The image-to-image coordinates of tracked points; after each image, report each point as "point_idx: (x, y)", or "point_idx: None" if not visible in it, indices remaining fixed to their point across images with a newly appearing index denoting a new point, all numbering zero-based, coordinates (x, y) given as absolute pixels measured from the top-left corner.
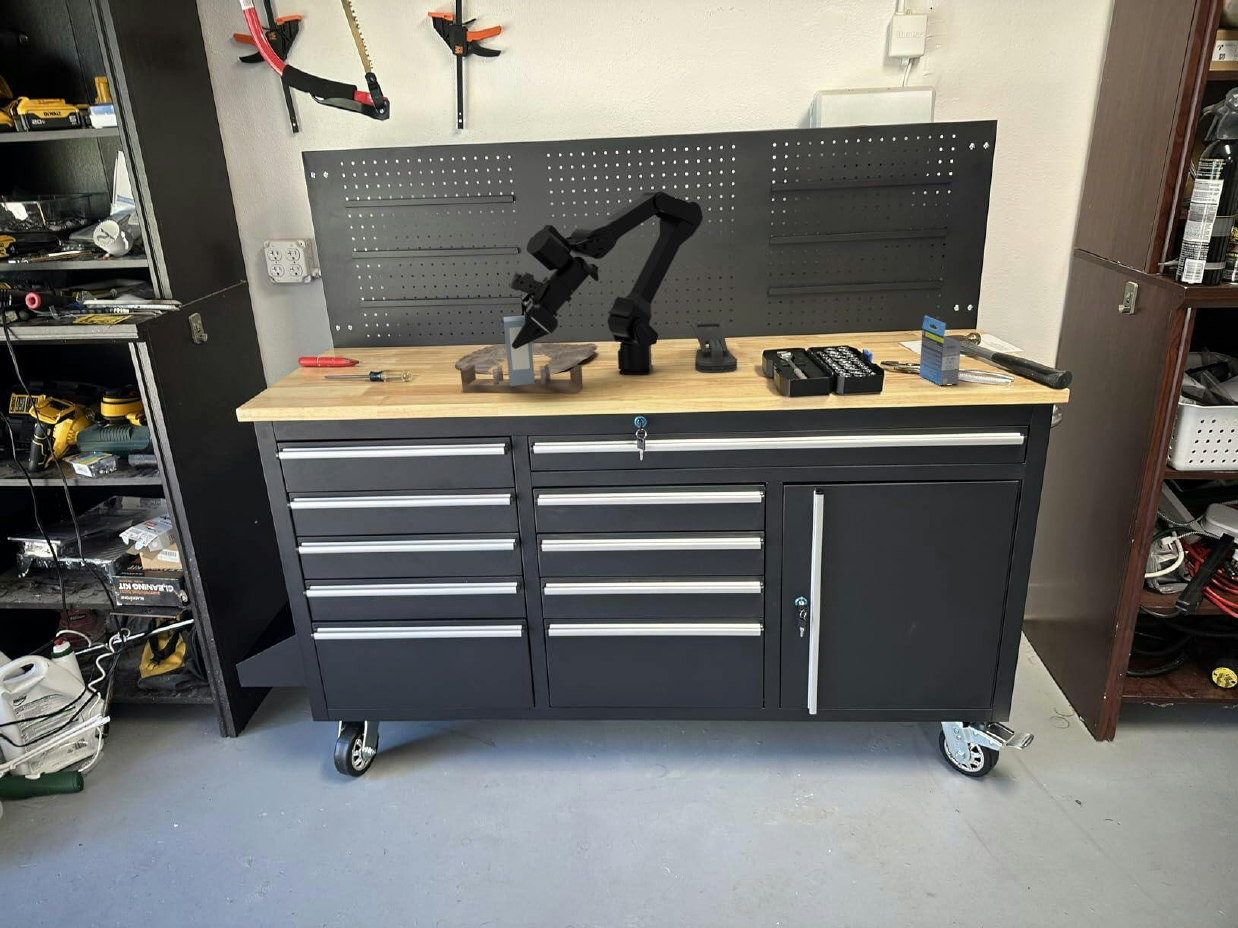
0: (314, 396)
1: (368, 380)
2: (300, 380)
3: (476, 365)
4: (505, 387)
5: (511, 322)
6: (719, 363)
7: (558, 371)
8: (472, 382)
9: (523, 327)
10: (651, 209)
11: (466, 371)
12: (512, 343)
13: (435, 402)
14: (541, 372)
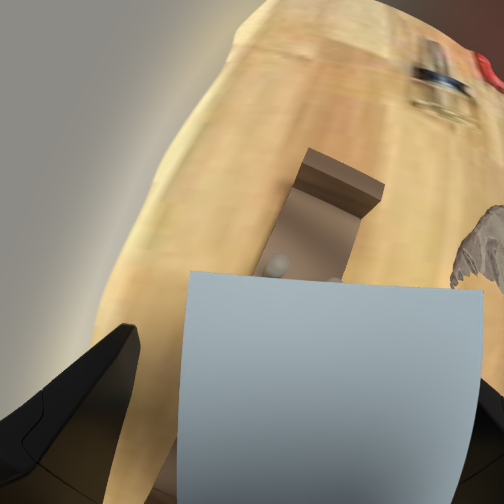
0: (336, 9)
1: (421, 66)
2: (418, 23)
3: (501, 247)
4: None
5: (181, 370)
6: None
7: None
8: (318, 203)
9: (1, 420)
10: None
11: (303, 165)
12: (115, 330)
13: (219, 120)
14: None
